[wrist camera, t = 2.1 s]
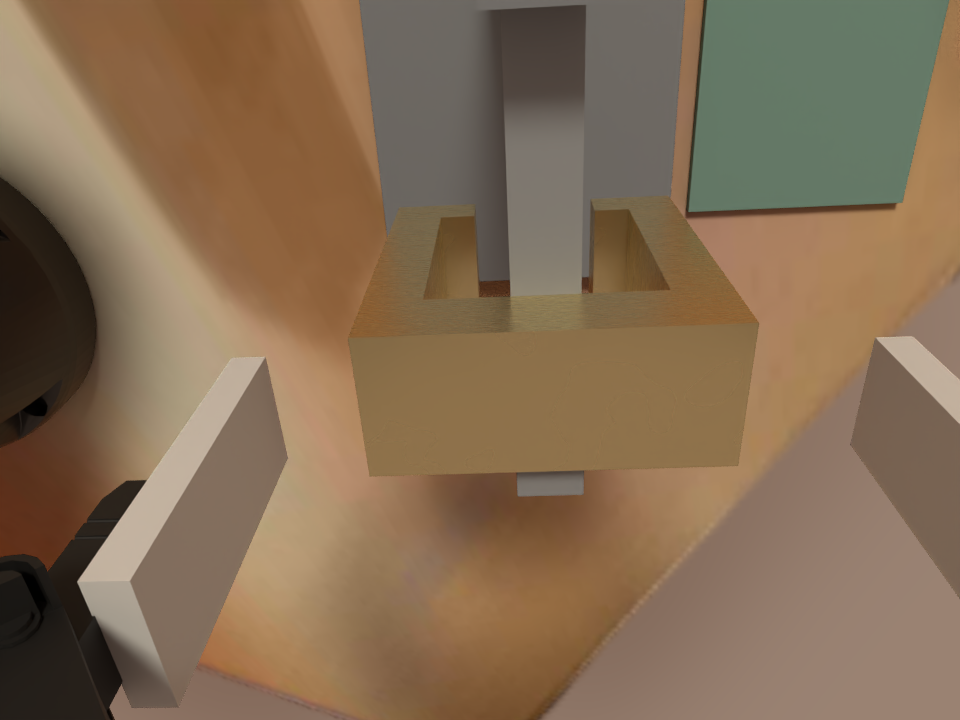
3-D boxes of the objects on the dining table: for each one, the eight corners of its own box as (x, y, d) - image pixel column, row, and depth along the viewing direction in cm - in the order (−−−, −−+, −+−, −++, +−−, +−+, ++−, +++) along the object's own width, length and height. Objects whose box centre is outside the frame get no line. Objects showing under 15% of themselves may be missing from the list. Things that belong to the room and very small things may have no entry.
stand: (396, 274, 34) (306, 555, 18) (347, -146, 26) (114, -305, 10) (659, 264, 33) (806, 543, 17) (689, -169, 25) (1006, -374, 10)
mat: (686, 209, 32) (688, 211, 31) (706, -24, 27) (709, -24, 27) (897, 200, 31) (901, 202, 31) (952, -39, 27) (958, -38, 27)
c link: (410, 311, 25) (369, 476, 17) (399, 207, 23) (347, 338, 15) (660, 301, 24) (738, 466, 16) (668, 195, 23) (759, 322, 15)
